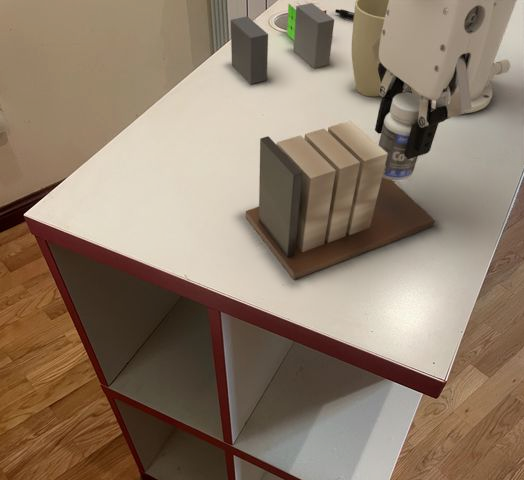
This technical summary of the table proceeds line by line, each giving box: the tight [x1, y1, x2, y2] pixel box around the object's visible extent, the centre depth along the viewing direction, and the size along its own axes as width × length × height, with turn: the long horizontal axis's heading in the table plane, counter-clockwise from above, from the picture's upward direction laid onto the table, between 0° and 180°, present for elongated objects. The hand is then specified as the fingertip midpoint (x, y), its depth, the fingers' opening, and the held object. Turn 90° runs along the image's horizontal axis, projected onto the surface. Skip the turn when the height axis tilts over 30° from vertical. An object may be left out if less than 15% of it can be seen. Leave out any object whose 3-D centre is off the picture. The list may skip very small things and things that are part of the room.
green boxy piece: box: [286, 0, 328, 41], centre depth 91 cm, size 5×5×5 cm
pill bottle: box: [377, 92, 420, 182], centre depth 58 cm, size 5×5×8 cm
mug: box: [351, 0, 389, 97], centre depth 78 cm, size 11×10×12 cm
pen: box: [334, 8, 354, 20], centre depth 96 cm, size 14×2×1 cm, turn 58°
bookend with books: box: [245, 120, 436, 280], centre depth 59 cm, size 20×12×12 cm, turn 118°
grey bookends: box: [230, 3, 335, 85], centre depth 84 cm, size 15×7×7 cm, turn 118°
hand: (401, 140), depth 58 cm, fingers closed on pill bottle, 4 cm apart
